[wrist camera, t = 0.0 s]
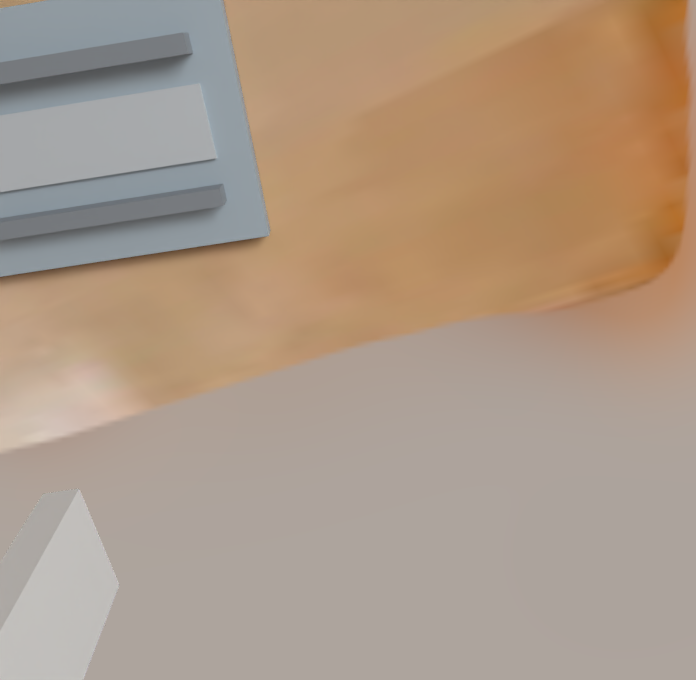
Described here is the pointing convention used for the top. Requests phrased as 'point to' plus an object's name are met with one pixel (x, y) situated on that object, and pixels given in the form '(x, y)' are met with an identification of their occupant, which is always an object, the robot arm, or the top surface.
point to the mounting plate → (121, 133)
